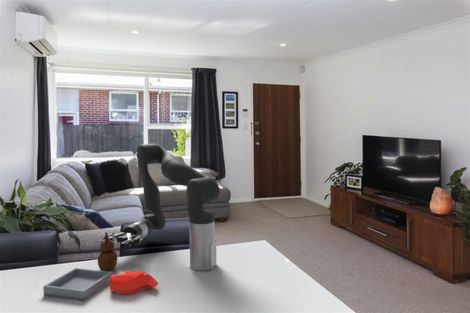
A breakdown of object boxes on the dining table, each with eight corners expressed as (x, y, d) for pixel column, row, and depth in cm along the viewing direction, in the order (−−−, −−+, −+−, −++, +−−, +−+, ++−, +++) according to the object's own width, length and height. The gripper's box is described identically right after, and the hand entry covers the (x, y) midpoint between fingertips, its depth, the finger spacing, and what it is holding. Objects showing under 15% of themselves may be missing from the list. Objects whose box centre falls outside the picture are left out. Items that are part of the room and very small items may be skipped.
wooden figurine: (110, 275, 123) (108, 233, 122) (95, 274, 124) (93, 232, 123) (120, 267, 130) (118, 228, 129) (106, 266, 131) (104, 227, 130)
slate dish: (112, 280, 119) (112, 271, 119) (84, 301, 105) (83, 291, 105) (75, 276, 123) (75, 267, 122) (43, 295, 109) (43, 286, 108)
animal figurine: (157, 296, 109) (157, 280, 108) (107, 298, 107) (107, 283, 106) (160, 279, 120) (160, 265, 120) (115, 282, 118) (115, 267, 118)
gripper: (119, 222, 146) (94, 234, 131) (150, 224, 143) (128, 236, 127) (120, 240, 147) (95, 253, 131) (150, 242, 143) (129, 256, 128)
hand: (111, 245), depth 129 cm, fingers open, 8 cm apart
